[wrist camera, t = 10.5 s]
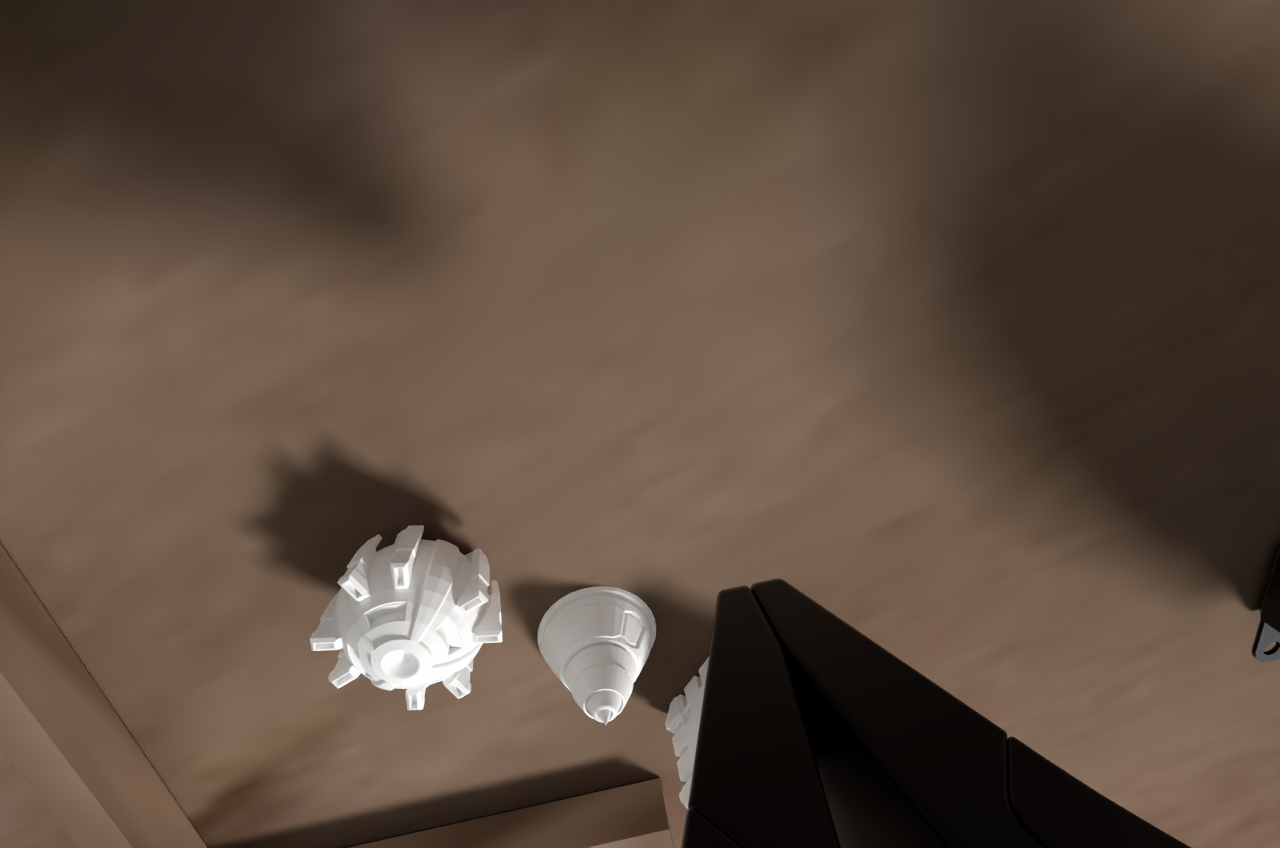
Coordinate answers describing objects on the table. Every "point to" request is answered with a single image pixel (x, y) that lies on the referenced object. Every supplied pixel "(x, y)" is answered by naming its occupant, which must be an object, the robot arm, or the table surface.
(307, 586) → the table surface
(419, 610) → the game pieces
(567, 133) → the table surface
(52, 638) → the rail corral
